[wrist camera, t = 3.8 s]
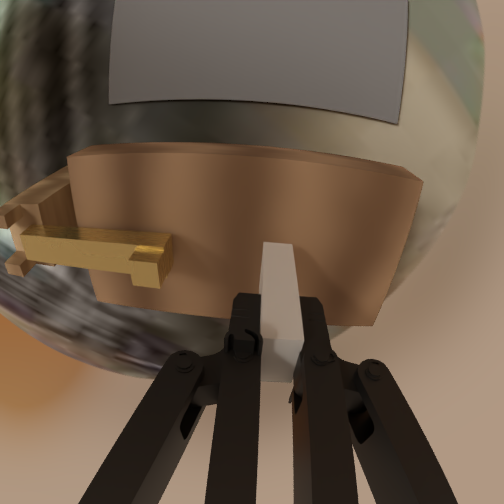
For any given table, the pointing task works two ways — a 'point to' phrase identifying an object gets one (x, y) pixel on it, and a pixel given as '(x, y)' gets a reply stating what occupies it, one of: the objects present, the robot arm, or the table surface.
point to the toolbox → (37, 214)
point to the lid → (248, 221)
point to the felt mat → (262, 52)
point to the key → (103, 251)
